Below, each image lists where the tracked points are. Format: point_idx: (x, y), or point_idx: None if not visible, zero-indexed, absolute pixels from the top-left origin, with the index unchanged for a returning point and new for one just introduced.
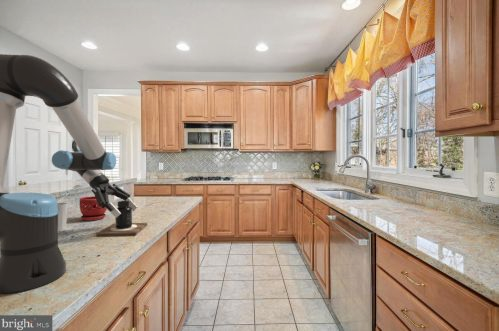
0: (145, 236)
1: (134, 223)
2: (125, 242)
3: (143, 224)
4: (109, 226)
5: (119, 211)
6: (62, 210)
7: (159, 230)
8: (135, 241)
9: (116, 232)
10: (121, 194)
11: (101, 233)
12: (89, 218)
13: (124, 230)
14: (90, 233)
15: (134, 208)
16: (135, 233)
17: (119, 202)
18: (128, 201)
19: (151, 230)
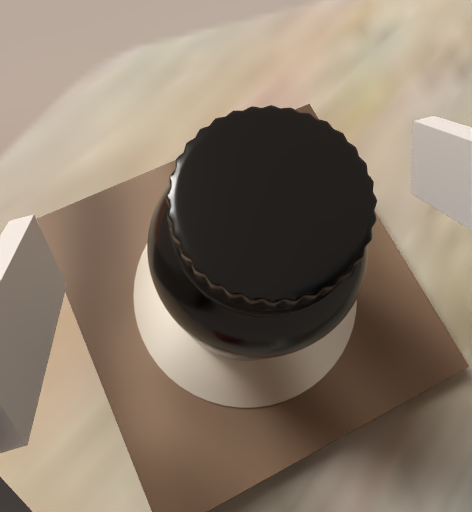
0: (292, 49)
1: (95, 312)
2: (432, 78)
3: (102, 207)
4: (268, 463)
5: (432, 127)
6: None
7: (146, 51)
8: (391, 40)
9: (373, 233)
10: (17, 497)
11: (444, 329)
12: None
13: None
14: (428, 508)
15: (48, 258)
16: (308, 109)
17: (372, 194)
18: (228, 116)
19: (165, 100)
